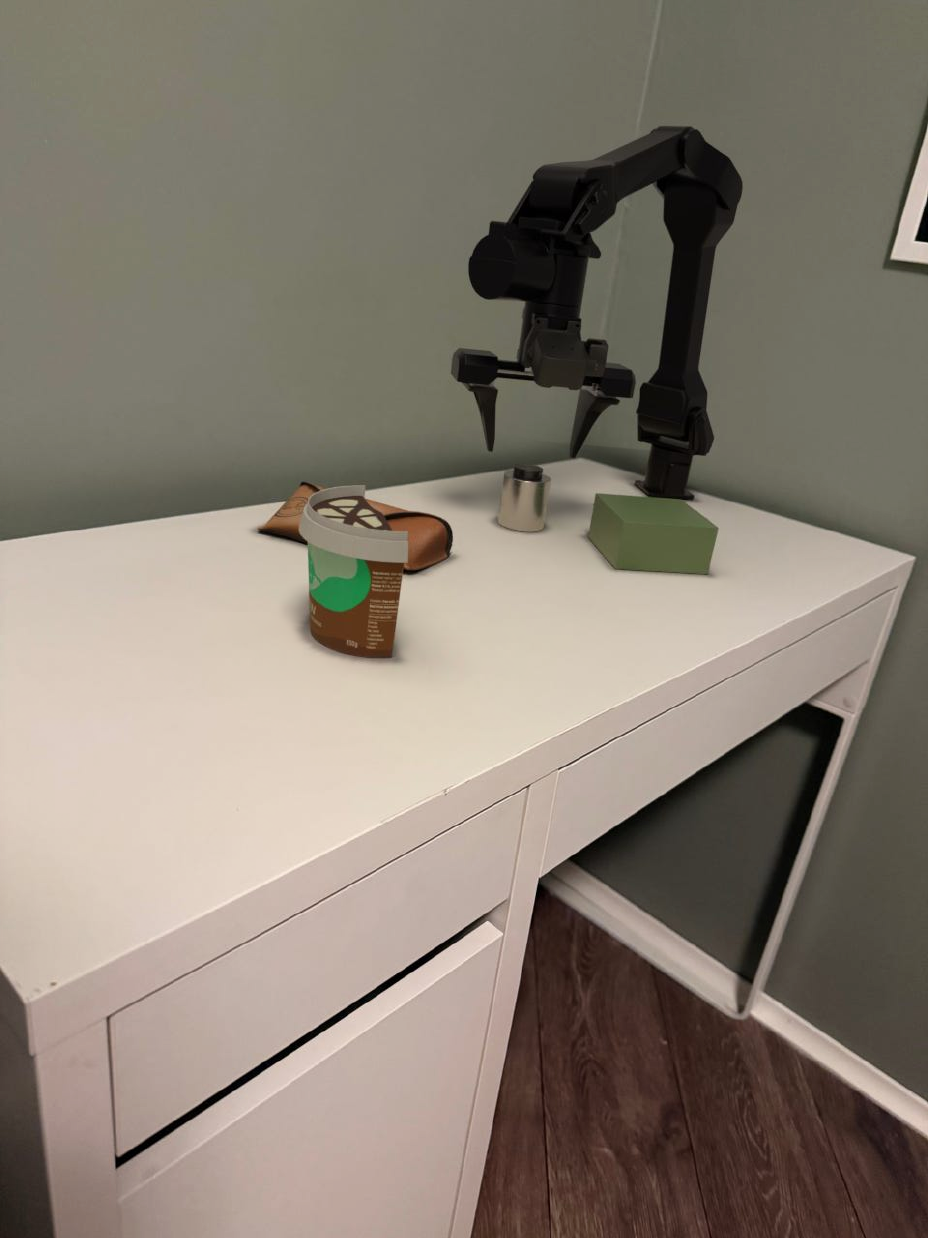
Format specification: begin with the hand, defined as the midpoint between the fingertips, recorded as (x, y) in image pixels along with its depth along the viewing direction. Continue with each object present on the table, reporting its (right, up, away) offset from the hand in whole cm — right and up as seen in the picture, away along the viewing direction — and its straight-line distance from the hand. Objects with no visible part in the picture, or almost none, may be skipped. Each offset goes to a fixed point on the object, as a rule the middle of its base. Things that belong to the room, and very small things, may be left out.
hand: (531, 454), depth 97 cm
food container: (-17, -19, -29) cm, 38 cm away
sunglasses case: (-18, -11, -9) cm, 23 cm away
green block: (+12, -11, -2) cm, 16 cm away
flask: (-1, -7, +3) cm, 8 cm away
